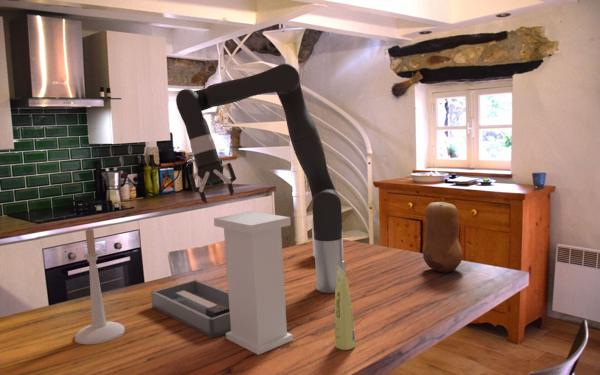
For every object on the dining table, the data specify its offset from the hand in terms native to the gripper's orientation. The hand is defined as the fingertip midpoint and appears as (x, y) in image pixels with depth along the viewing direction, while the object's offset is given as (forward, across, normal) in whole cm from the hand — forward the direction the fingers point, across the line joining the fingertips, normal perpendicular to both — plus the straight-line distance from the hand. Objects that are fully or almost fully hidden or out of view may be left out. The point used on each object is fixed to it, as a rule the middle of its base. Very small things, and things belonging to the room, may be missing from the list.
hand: (219, 199), depth 162 cm
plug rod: (+30, -16, -10) cm, 35 cm away
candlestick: (+26, -43, -15) cm, 52 cm away
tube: (+42, +15, -46) cm, 64 cm away
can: (+37, +39, +36) cm, 65 cm away
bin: (+31, -15, -10) cm, 36 cm away
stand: (+37, -4, -34) cm, 50 cm away
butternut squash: (+48, +68, -1) cm, 84 cm away
